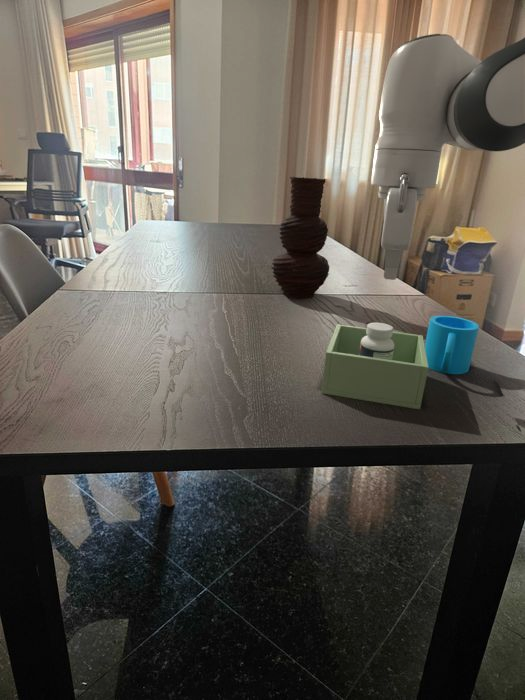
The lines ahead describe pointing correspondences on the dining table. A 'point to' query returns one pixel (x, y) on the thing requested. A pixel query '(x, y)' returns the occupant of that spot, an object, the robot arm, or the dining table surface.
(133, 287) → the dining table surface
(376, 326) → the pill bottle
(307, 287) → the vase
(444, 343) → the mug
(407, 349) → the basket
